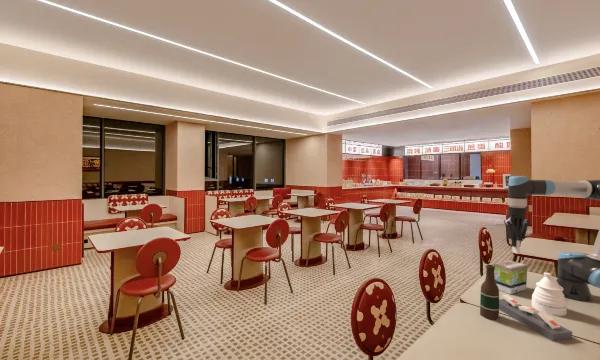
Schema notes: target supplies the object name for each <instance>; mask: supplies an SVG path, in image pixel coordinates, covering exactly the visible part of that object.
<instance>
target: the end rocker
mask: <svg viewBox="0 0 600 360" xmlns="http://www.w3.org/2000/svg"><path fill="white" fill-rule="evenodd" d="M537 314H538V315H539V316H540V317H541V318H542V319H543V320H544V321H545V322H546V323H547V324H548V325H549V326H550V327H551V328H552V329H559V328H560V326H561V325H560V324H558V322H557V321H555V320H554V319H553V318H552V317H551V316H550V314H547V313H546V312H541V311H539V313H537ZM559 325H560V326H559Z"/></svg>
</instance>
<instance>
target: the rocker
mask: <svg viewBox="0 0 600 360" xmlns="http://www.w3.org/2000/svg"><path fill="white" fill-rule="evenodd" d="M501 299H505V300H506V301H508V302H509V303H510V304H511V305H513V306H514V307H515V306H520V305H521V303H519V302H518V301H517V300H516V299H514V298H513V297H511V295H510V294H508V293H506V294H501Z"/></svg>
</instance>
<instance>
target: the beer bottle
mask: <svg viewBox="0 0 600 360" xmlns="http://www.w3.org/2000/svg"><path fill="white" fill-rule="evenodd" d="M485 268H486V269H485V270H486V271H485V278H484V281H483V283H481V285H480V302H479V304H480V305H479V306H480V308H479V310H480V311H479V313H480V316H482V317H484V319H488V320H490V321H491V320H492V321H494V320H499V317H500V316H499V315H500V314H499V313H500V310H499V299H500V290H499V289H498V286H497V285H496V283H495V275H494V269H495V266H494V264H486V265H485Z"/></svg>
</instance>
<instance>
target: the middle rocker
mask: <svg viewBox="0 0 600 360" xmlns="http://www.w3.org/2000/svg"><path fill="white" fill-rule="evenodd" d="M518 307H519V309H520V310H523V311H527V312H530V313H533V314H534V313H537V314H538V313H539V312H540V311H539V310H537V309H535V308H534V307H529V306H526V305H522V306H518Z"/></svg>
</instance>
